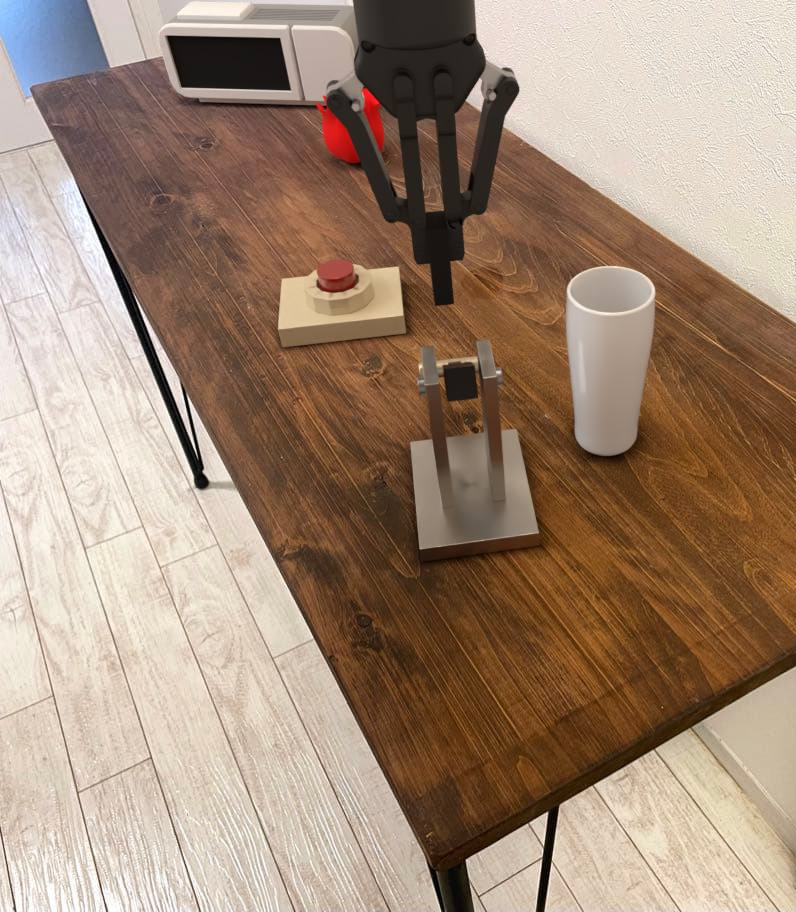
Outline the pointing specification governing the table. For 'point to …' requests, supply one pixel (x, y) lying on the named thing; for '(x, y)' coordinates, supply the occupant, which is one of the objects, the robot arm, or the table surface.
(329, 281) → the button
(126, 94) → the table surface
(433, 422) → the bracket
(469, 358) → the lever
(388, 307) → the button block
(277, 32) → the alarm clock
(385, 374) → the table surface
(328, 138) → the flower
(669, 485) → the table surface
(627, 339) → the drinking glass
